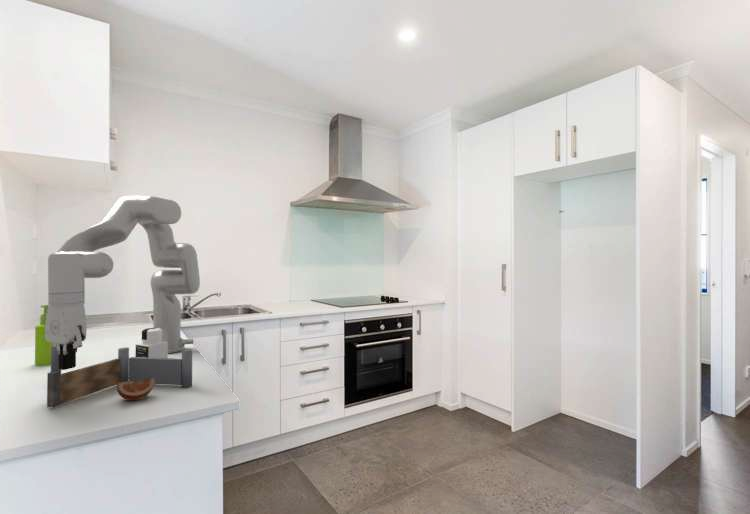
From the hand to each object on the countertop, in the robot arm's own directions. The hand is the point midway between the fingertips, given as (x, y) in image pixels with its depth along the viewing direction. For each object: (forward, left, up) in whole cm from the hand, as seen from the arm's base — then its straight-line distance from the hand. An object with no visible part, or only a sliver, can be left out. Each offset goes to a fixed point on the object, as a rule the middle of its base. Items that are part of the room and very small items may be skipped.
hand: (67, 368), depth 102 cm
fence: (-12, -3, -7) cm, 14 cm away
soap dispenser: (+10, -42, -7) cm, 44 cm away
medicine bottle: (-20, -23, -7) cm, 32 cm away
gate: (-5, +6, -6) cm, 10 cm away
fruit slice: (-15, +15, -7) cm, 23 cm away
